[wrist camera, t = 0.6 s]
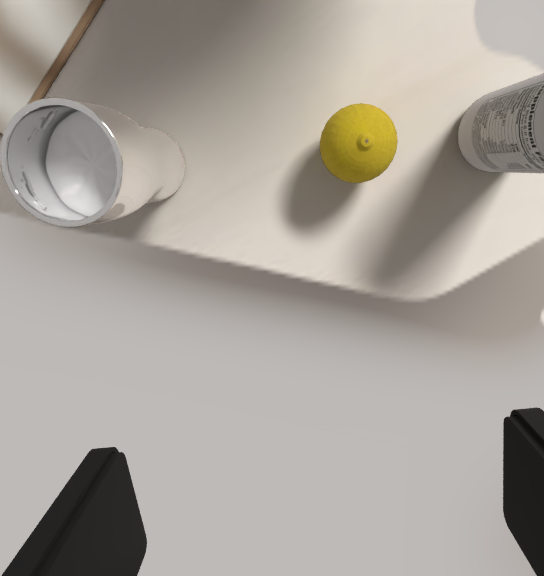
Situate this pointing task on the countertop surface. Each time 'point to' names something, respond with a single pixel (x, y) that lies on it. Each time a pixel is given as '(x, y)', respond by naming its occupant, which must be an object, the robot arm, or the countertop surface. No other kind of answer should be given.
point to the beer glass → (86, 162)
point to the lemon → (358, 143)
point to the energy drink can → (506, 129)
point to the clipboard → (36, 47)
